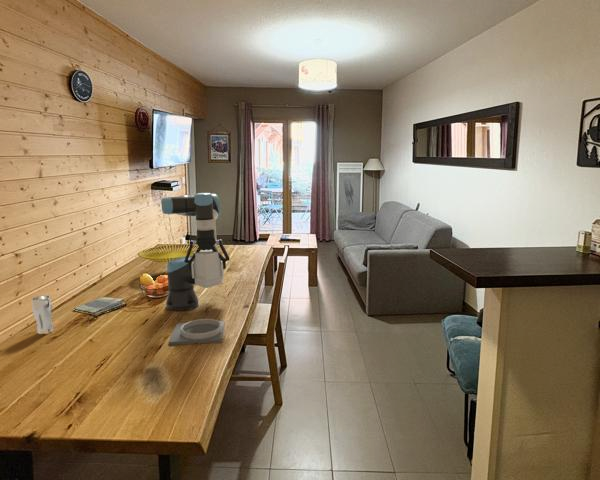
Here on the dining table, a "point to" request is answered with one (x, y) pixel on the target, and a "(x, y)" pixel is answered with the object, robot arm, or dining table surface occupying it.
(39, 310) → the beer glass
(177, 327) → the bottle holder
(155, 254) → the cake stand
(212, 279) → the supplement box
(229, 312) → the dining table surface
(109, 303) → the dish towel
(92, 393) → the dining table surface
